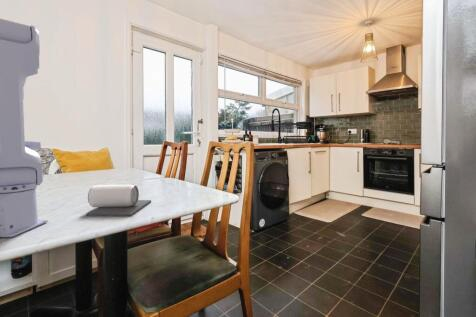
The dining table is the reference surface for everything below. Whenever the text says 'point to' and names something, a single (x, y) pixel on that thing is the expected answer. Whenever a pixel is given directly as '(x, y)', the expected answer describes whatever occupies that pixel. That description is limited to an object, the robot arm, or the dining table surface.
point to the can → (113, 195)
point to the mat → (119, 210)
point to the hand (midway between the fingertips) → (12, 175)
